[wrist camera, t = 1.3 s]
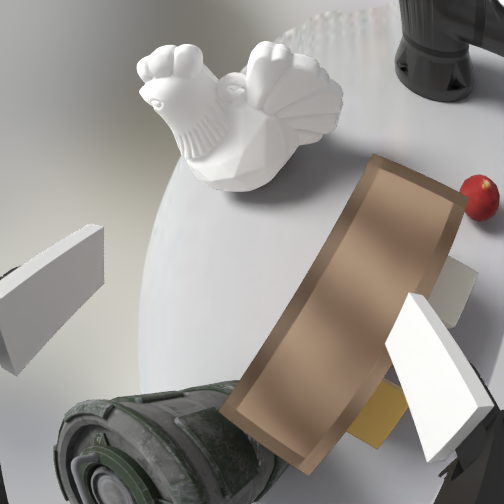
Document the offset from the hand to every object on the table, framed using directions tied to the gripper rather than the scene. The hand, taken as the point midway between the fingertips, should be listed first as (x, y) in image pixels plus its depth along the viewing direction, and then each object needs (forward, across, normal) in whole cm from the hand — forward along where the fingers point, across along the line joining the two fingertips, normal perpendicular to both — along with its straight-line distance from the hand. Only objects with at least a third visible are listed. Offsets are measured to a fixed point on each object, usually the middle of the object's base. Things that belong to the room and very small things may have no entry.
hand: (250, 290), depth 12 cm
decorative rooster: (+40, 0, +1) cm, 40 cm away
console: (+21, +15, -14) cm, 29 cm away
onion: (+26, +28, +4) cm, 39 cm away
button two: (+9, +14, -15) cm, 23 cm away
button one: (+14, +18, -5) cm, 24 cm away
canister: (+15, +4, -31) cm, 35 cm away
